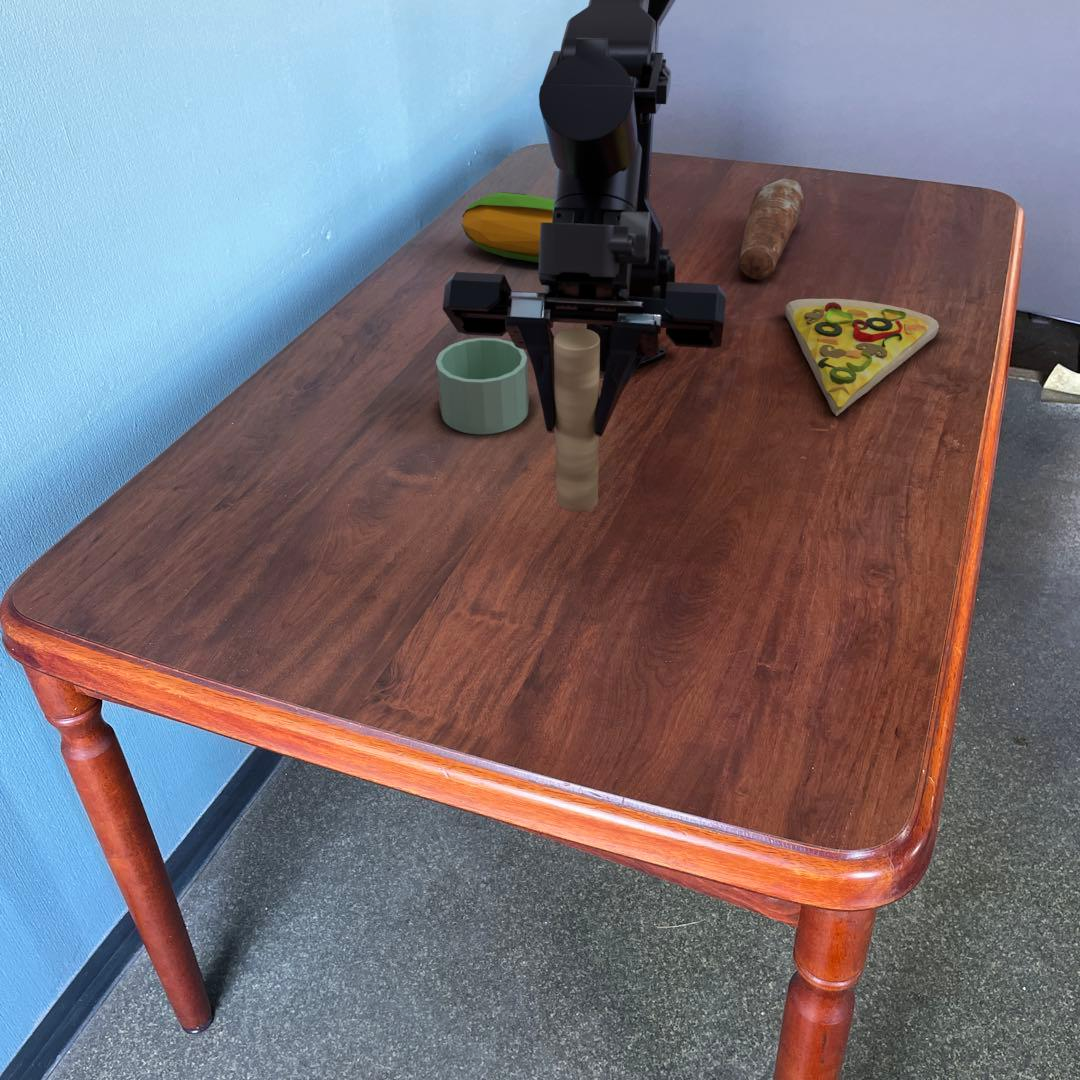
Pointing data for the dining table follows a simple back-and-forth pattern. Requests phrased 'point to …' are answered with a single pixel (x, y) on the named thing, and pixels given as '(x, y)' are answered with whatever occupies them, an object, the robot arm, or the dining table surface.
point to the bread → (770, 226)
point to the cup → (483, 385)
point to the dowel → (576, 418)
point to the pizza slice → (855, 343)
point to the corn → (508, 224)
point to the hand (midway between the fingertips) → (573, 433)
